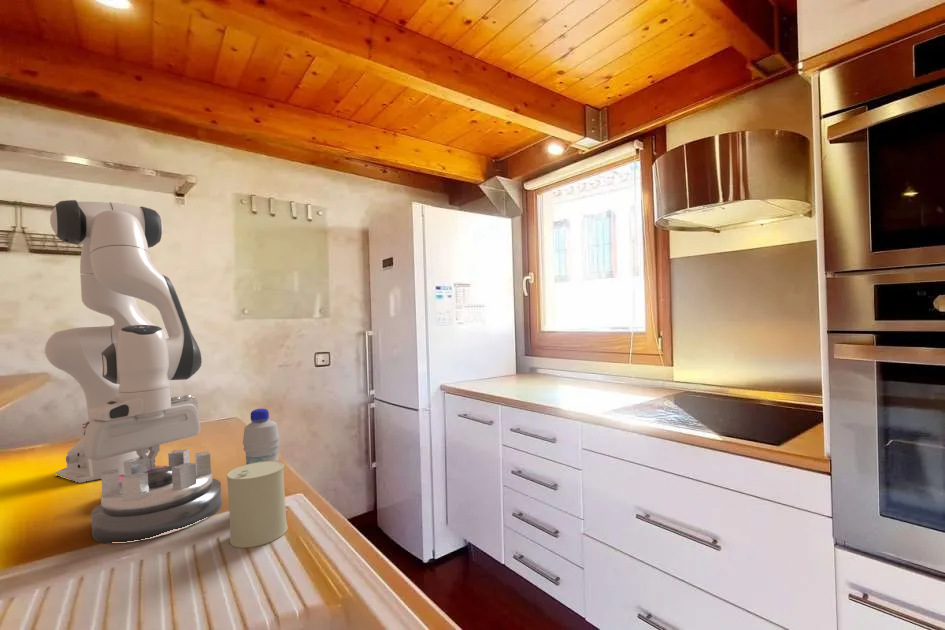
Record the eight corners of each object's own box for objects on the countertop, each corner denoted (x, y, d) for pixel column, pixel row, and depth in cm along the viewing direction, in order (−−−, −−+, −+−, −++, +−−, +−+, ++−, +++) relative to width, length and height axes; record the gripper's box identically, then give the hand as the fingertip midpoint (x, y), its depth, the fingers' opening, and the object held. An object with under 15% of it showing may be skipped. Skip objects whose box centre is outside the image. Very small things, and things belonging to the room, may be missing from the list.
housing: (63, 537, 82) (62, 515, 82) (171, 492, 102) (171, 474, 102) (147, 549, 76) (146, 525, 76) (245, 499, 96) (244, 479, 96)
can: (217, 544, 76) (213, 474, 76) (260, 519, 85) (256, 456, 85) (258, 551, 73) (254, 478, 73) (298, 525, 82) (295, 460, 82)
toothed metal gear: (98, 525, 76) (96, 487, 76) (104, 494, 91) (102, 462, 91) (218, 495, 87) (216, 462, 87) (207, 472, 102) (205, 443, 102)
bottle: (268, 514, 87) (263, 412, 87) (238, 513, 88) (233, 412, 88) (289, 500, 94) (284, 405, 94) (261, 499, 95) (256, 405, 95)
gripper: (189, 392, 104) (192, 451, 104) (78, 411, 87) (82, 482, 87) (204, 394, 101) (207, 455, 101) (92, 414, 83) (96, 488, 84)
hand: (148, 468), depth 94 cm, fingers closed
